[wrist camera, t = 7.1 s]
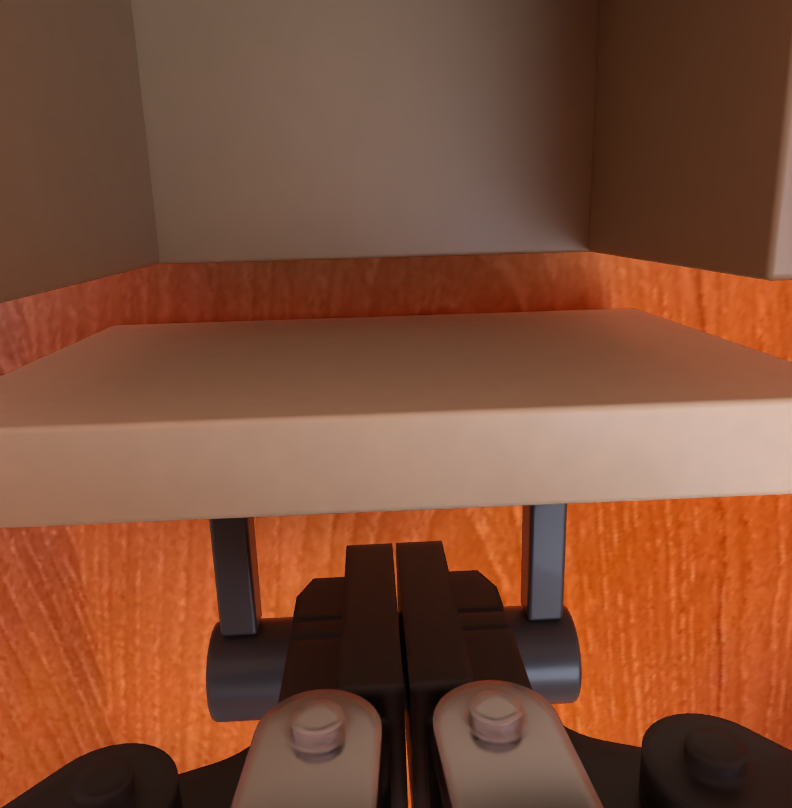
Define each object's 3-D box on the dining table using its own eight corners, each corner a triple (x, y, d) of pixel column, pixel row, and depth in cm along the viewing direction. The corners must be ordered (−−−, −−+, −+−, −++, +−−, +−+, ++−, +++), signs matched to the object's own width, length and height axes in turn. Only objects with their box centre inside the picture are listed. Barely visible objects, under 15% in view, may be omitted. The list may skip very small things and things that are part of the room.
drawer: (621, 555, 17) (824, 822, 10) (144, 577, 17) (-33, 875, 9) (680, -395, 12) (1170, -1335, 5) (16, -400, 12) (-568, -1440, 4)
